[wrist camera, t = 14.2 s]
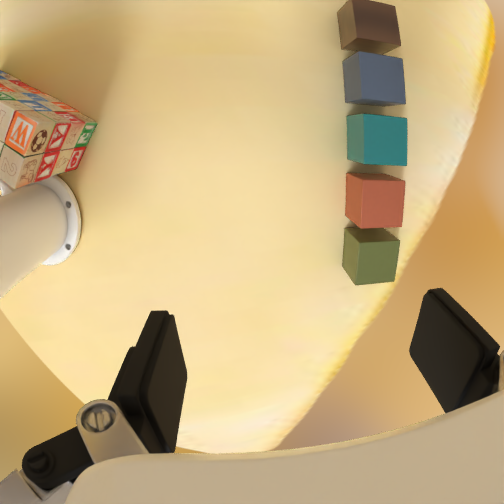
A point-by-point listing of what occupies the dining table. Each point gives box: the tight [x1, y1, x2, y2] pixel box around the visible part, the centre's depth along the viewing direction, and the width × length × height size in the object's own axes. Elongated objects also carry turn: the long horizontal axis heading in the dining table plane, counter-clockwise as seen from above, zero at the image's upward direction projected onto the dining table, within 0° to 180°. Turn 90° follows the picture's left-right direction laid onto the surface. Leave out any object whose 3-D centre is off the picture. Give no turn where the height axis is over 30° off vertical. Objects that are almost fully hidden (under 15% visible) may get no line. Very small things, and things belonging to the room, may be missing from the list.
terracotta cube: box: [345, 173, 405, 229], centre depth 31 cm, size 5×5×5 cm
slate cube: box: [343, 51, 406, 106], centre depth 26 cm, size 5×5×5 cm
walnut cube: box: [337, 0, 401, 55], centre depth 23 cm, size 5×5×5 cm
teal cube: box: [347, 114, 407, 166], centre depth 28 cm, size 5×5×5 cm
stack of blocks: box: [0, 70, 97, 189], centre depth 21 cm, size 21×6×12 cm, turn 56°
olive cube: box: [342, 228, 400, 285], centre depth 33 cm, size 5×5×5 cm
